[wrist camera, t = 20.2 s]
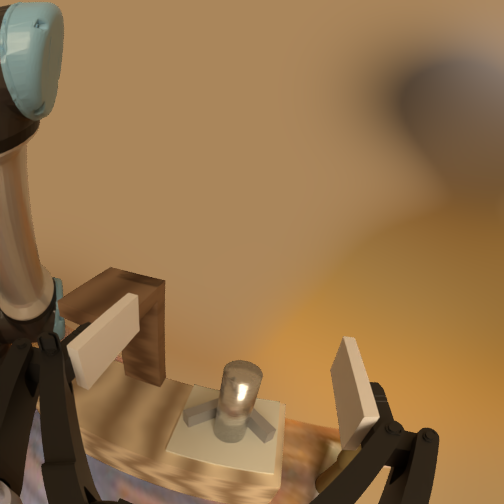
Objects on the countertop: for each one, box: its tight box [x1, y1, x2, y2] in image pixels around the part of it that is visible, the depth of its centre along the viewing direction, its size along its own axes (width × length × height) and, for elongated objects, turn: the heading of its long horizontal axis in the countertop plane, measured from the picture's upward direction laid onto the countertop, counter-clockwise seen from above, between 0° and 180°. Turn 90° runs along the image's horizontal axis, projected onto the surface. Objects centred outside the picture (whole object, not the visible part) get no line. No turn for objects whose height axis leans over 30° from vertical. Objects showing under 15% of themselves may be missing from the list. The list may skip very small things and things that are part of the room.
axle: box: [214, 360, 263, 443], centre depth 31 cm, size 4×4×12 cm
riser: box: [36, 360, 286, 504], centre depth 35 cm, size 38×16×10 cm, turn 83°
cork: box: [315, 445, 362, 493], centre depth 31 cm, size 6×6×11 cm
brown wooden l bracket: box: [57, 267, 166, 387], centre depth 33 cm, size 9×12×18 cm
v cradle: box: [166, 385, 280, 474], centre depth 33 cm, size 14×14×3 cm
